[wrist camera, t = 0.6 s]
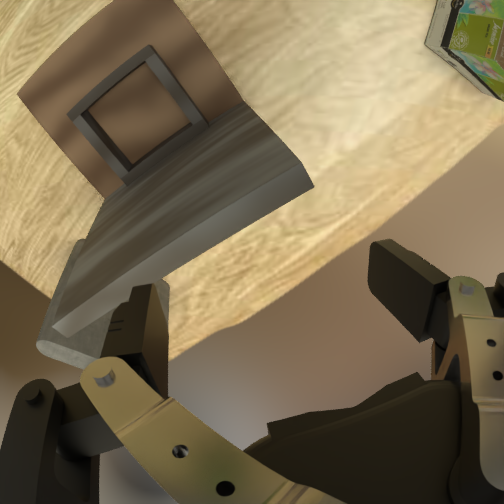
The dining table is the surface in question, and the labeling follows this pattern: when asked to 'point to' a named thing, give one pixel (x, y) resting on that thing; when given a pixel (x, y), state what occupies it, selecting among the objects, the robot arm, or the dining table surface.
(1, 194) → the dining table surface
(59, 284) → the hip flask
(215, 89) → the wall board holder
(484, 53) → the tea box
